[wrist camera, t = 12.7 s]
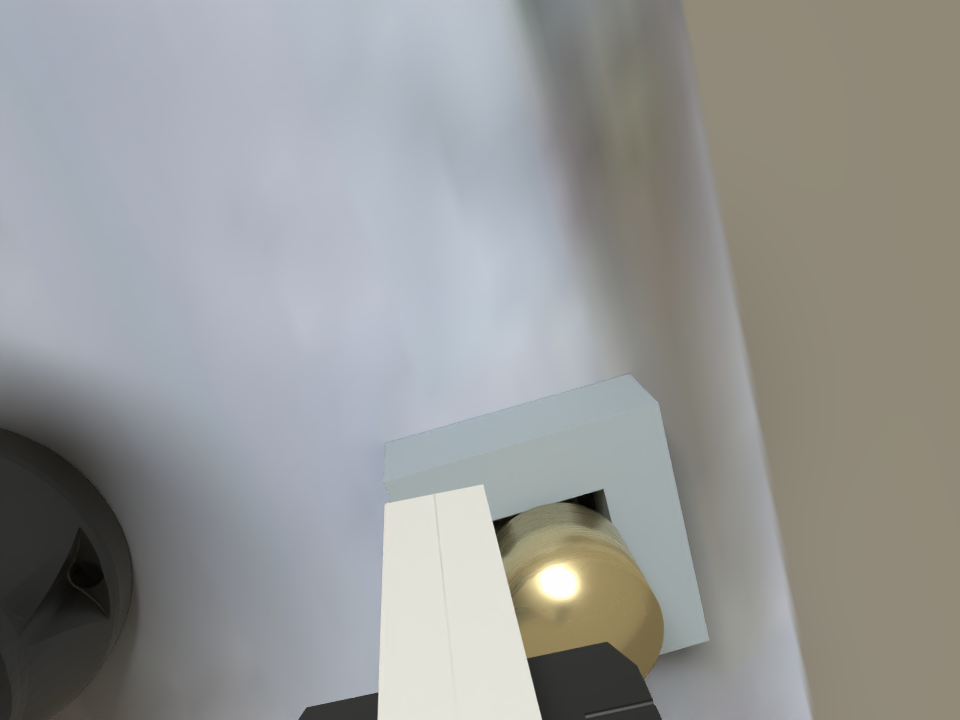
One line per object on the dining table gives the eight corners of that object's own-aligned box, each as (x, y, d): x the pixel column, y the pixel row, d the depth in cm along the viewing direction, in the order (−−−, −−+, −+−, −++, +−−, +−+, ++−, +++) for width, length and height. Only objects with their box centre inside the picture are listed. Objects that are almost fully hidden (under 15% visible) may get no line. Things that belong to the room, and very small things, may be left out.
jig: (677, 588, 42) (709, 640, 38) (452, 654, 42) (459, 714, 37) (629, 373, 39) (658, 403, 34) (385, 443, 38) (383, 482, 34)
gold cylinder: (549, 598, 41) (594, 737, 32) (446, 535, 40) (461, 661, 30) (626, 502, 40) (697, 615, 31) (524, 433, 39) (565, 530, 29)
